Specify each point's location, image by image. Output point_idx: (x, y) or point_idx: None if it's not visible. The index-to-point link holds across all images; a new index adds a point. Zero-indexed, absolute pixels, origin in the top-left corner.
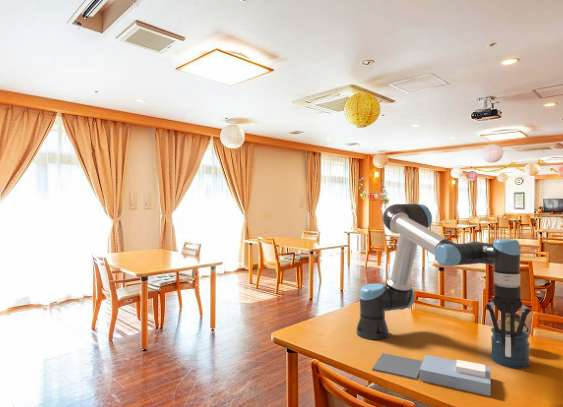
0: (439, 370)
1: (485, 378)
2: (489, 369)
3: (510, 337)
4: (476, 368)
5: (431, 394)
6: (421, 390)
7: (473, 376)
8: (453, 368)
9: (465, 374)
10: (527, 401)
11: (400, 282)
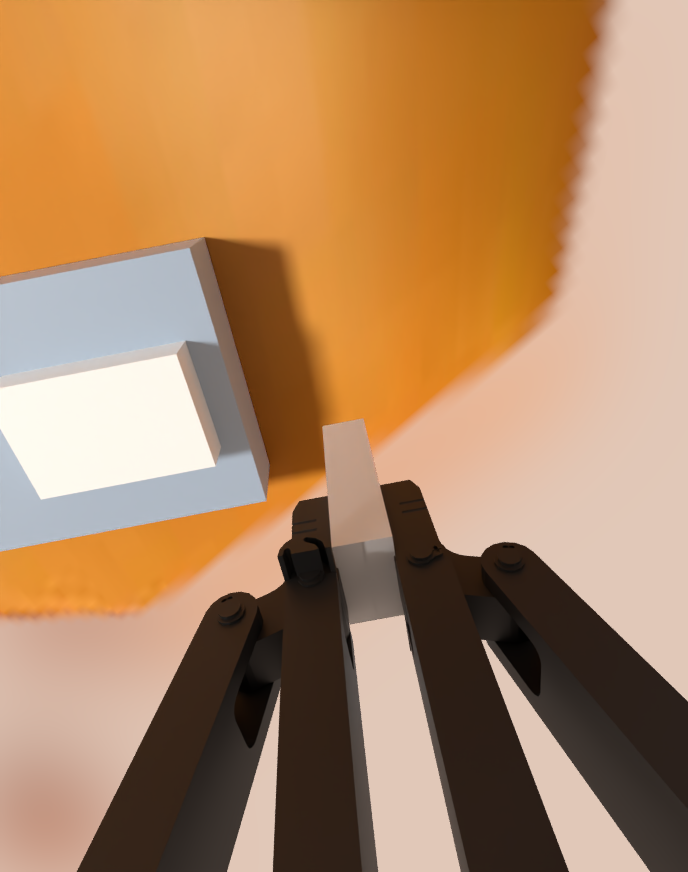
0: None
1: (224, 455)
2: (201, 302)
3: (402, 611)
4: (153, 450)
5: (66, 598)
6: (14, 596)
7: None
8: None
9: None
10: (421, 405)
11: None
